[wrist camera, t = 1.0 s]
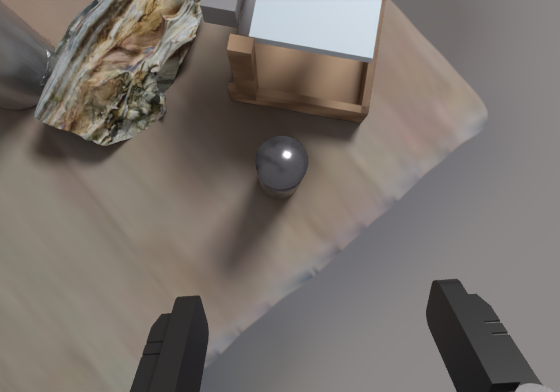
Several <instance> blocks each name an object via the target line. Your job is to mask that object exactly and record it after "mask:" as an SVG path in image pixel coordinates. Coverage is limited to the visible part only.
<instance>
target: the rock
mask: <svg viewBox="0 0 560 392" xmlns="http://www.w3.org/2000/svg"><path fill="white" fill-rule="evenodd" d="M200 1H201V0H94V1H93V2H92V3H90V4H89V5H87V6H86V7H85V8H84V9H83V10H82V11H81V12H80V13H79V14H78V15H77V16H76V17H75V19H74V20H73V21H72V23H71V24H70V25H69V27H68V30H67V32H66V34H65V36H64V37H63V39H62V40H61V42H60V43H59V44H58V46H57V47H56V50H55V54H56V55H57V57H58V59H59V60H58V62H57V64H56V66H55V68H54V70H53V72H52V74H51V76H50V78H49V79H48V81H47V83H46V85H45V87H44V89H43V92H42V95H41V98H40V100H39V103H38V105H37V107H36V110H35V113H34V116H35V118H37V119H38V120H40V121H42V122H44V123H46V124H48V125H50V126H52V127H54V128H57V129H60V130H65V131H70V132H72V133H75V134H77V135H79V136H81V137H82V138H83V139H85V140H87V141H93V142H94V143H96V144H100V145H103V146H107V145H110V144H113V143H116V142H119V141H122V140H126V139H129V138H133V137H134V136H136V135H137V134H138V133H141V131H142V130H144V129H145V130H146V129H148V128H147V126H151V123H152V122H153V121H155V120H156V119H155V117H156V115H157V114H158V112H161V116H160V118H161V117H162V116H163V115H164V114H165V113H166V106H165V99H166V96H164V95H163V93H164V92H165V91H166V90H167V89H168V88H169V87H170V86H171V85H172V84H173V83H174V79H175V76H176V74H177V71H178V69H179V65H180V64H181V63H182V61H183V58H184V56H185V55H186V53H187V51H188V49H189V48H190V46H191V44H192V43H193V41H194V39H195V38H196V29H197V27H198V26H199V24H200V19H201V18H202V16H203V15H202V11H201V8H200ZM160 118H159V119H160ZM159 119H158V120H159ZM158 120H157V121H158Z"/></svg>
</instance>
